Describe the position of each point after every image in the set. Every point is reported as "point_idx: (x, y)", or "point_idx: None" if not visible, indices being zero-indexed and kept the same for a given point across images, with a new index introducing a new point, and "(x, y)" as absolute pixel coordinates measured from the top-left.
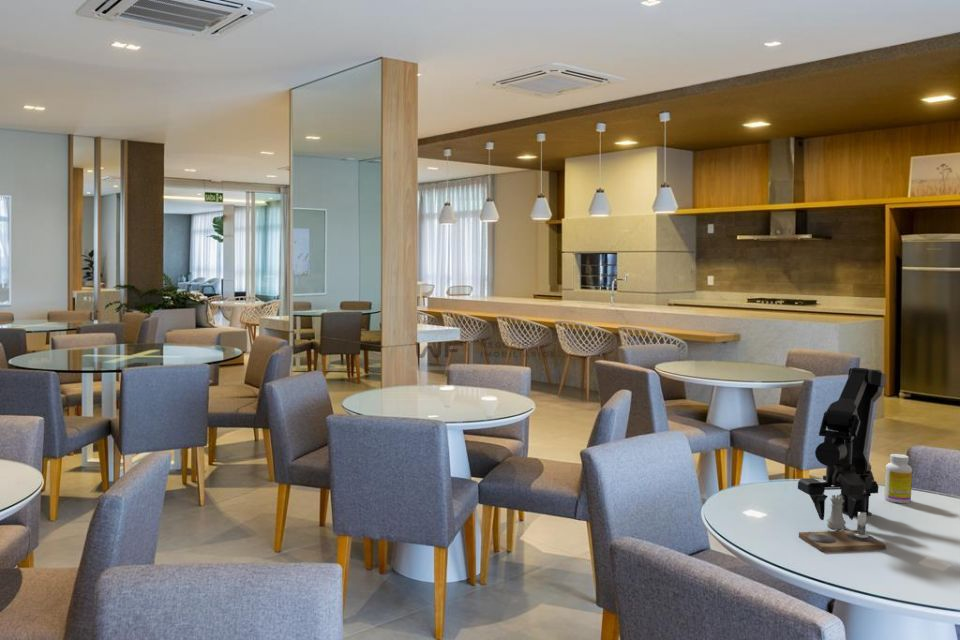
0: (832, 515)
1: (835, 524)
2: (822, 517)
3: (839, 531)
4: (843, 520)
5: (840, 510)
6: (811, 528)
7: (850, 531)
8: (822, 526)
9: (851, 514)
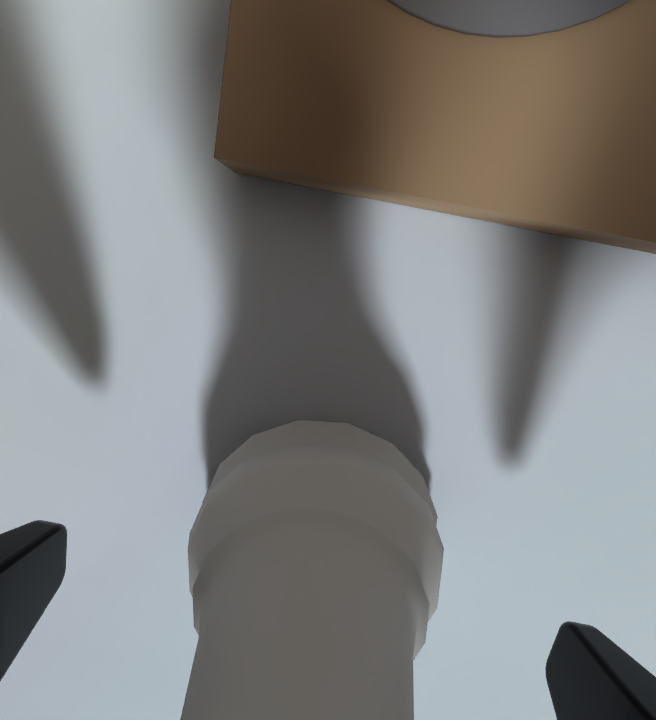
0: (411, 661)
1: (410, 488)
2: (629, 660)
3: (622, 205)
4: (249, 512)
5: (281, 710)
6: (650, 572)
7: (432, 145)
8: (455, 586)
9: (6, 587)
